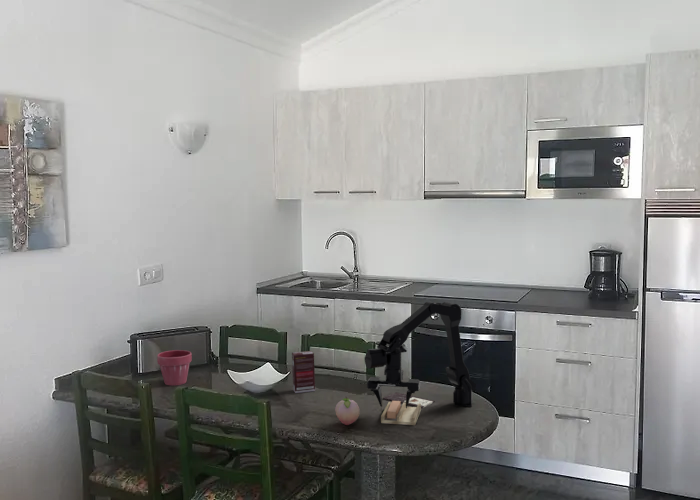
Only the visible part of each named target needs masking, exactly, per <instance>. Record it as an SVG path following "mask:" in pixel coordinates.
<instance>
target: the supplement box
mask: <svg viewBox="0 0 700 500" xmlns="http://www.w3.org/2000/svg"><path fill="white" fill-rule="evenodd" d="M291 365H292V366H291V369H292V371H291V372H292V390H293V392H294V393H295V394H298V393H301V394H302V393H308V392H315V391H316V374H315V353H314V352H313V351H312V350H307V351H297V352H295V351H294V352H291Z"/></svg>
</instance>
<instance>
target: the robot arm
mask: <svg viewBox="0 0 700 500" xmlns="http://www.w3.org/2000/svg"><path fill="white" fill-rule="evenodd" d="M423 303H424V304H422V306H421V307H420V308H418V309H417V310H416V311H415V312H413V313H412V314H411V315H410V316H408V317H407V318H406V319H405V320H403V321H402V322H401V323H399V324H397V325H394V326H392V327H390V328H388V329H386V330H385V331H384V333H383V334H382V335H383V337H382V338H381V339H380V341H379V343H378V345H377V347H376V348H367V350H366V351H367V352H366V353H365V356H364V364H365V367H366V368H367V369H376V368H384V369H383V370H384V374H383V375H384V376H385V380H381V377H378V376H377V377H376V376H370V377H369V378H368V380H367V381H366V388H367V389H369V390H370V391H371V392H373V394H374V395H375V397H376V398H377V401H378V403H379V405H380V407H383V397H382V395H383V394H382V387H396V388H407V390H406V393H405V394H406V408H407V407H409V405H408V403H409V400H410V397H411V396H413V395H412V394H416V392H419V390H420V388H421V381H420V379H417V378H416V379H415V378H409V379H408V381H403V380H404V370H403V369H402V368H403V367H402V353H407V352H408V350H407V349H406V348H405V347H404V346H403V345H404V343H406V341H408V338H409V335H410V334H411V333H412V332H414V330H416V329H418V327H419V326H420V325H421V324H423V323H424V322H425V321H426V320H428V319H429V318H430V317H431V316H433V315H434V314H437V315H439V316H440V318H441V321H442V322H443V324H444V326H445V331H446V339H447V346H448V354H449V360H450V362H449V365H448V366H446V367H445V370H446V378H448V381H449V382H450V383H451V385H452V387H455V388H454V390H453V391H452V392H453V399H452V400H453V401H452V402H453V404H454V406H455V407H456V406H457V407H472V406H473V391H475V390H476V388H477V384H476V383H475V382H474V381H473V380H472V379H471V376H470V373H469V369H468V367H467V366H466V364H465V362H464V356H463V348H462V341H461V333H460V327H459V326H460V323H461V320H462V307H461V306H460V305H459V304H457V303H454V302H450V301H442V303H441V302H435V301H434V302H433V301H429V300H428V301H426V302H423Z"/></svg>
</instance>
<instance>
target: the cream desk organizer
mask: <svg viewBox="0 0 700 500" xmlns="http://www.w3.org/2000/svg"><path fill="white" fill-rule="evenodd" d="M391 403H392V401H388V403H387V405H386V406H385V408H384V410H383V412H382V414H381V416H380V423H381V424H387V425H388V424H391V425H407V426H416V423H417V421H418V418H419V416H420V414H421V410H422V408H421V404H419V403H418V405H417V407H414V406H408V407H407V408H406V403H403V404H401V408H400V410H399V412H398V414H397V417H396V419H392V418H387V411H388V409H389V407H390V405H391Z"/></svg>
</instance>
